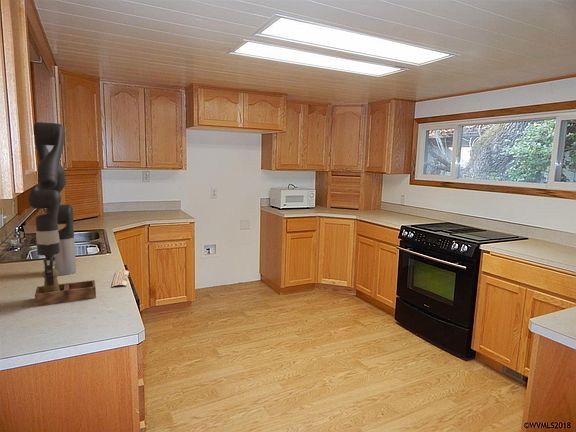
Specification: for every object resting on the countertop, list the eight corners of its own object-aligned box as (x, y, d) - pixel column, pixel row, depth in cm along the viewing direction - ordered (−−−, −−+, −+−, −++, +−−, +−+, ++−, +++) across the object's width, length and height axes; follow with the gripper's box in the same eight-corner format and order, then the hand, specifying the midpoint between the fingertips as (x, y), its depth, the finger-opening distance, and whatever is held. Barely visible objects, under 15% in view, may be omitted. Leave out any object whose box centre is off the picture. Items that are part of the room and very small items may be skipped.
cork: (57, 293, 157) (55, 266, 156) (63, 296, 153) (61, 269, 152) (40, 297, 152) (38, 269, 151) (46, 300, 149) (44, 272, 147)
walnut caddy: (35, 306, 146) (34, 294, 146) (38, 297, 155) (37, 286, 154) (96, 297, 156) (95, 287, 155) (94, 290, 165) (94, 280, 164)
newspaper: (115, 274, 190) (115, 270, 190) (131, 273, 193) (131, 269, 193) (111, 289, 168) (111, 285, 168) (129, 287, 171) (128, 283, 171)
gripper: (38, 239, 154) (41, 278, 156) (34, 246, 142) (38, 288, 144) (60, 237, 158) (62, 276, 160) (58, 244, 145) (61, 286, 148)
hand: (51, 282), depth 152 cm, fingers open, 8 cm apart
